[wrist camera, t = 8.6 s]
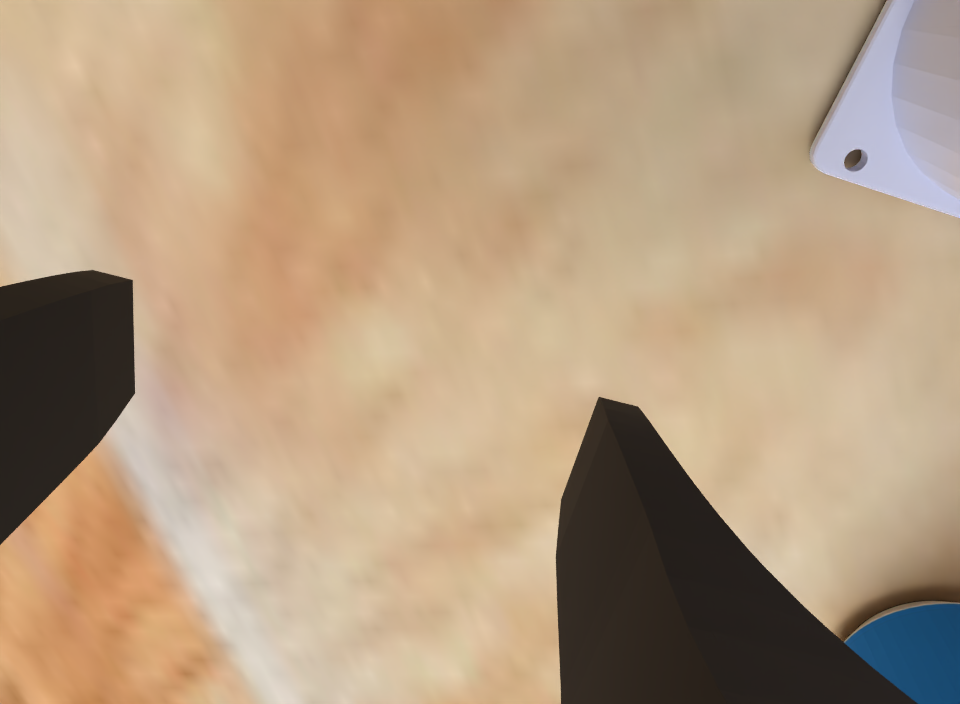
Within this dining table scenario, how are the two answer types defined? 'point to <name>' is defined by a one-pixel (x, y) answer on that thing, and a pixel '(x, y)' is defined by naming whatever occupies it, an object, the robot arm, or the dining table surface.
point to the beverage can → (915, 649)
